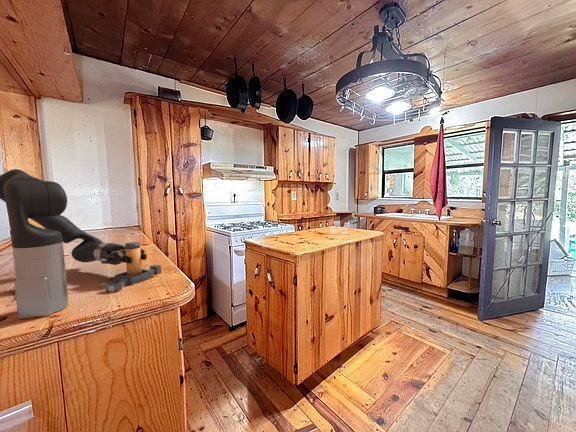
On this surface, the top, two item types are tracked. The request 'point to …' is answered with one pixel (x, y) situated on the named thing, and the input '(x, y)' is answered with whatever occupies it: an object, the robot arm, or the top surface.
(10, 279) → the top surface
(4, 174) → the robot arm
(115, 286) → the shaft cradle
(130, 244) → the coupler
